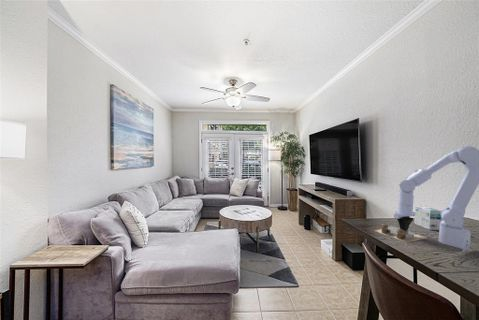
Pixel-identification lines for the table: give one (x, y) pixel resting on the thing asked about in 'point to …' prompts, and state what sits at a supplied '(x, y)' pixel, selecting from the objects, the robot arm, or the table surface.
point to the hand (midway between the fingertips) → (403, 231)
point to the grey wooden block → (393, 231)
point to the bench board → (416, 237)
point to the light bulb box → (428, 217)
